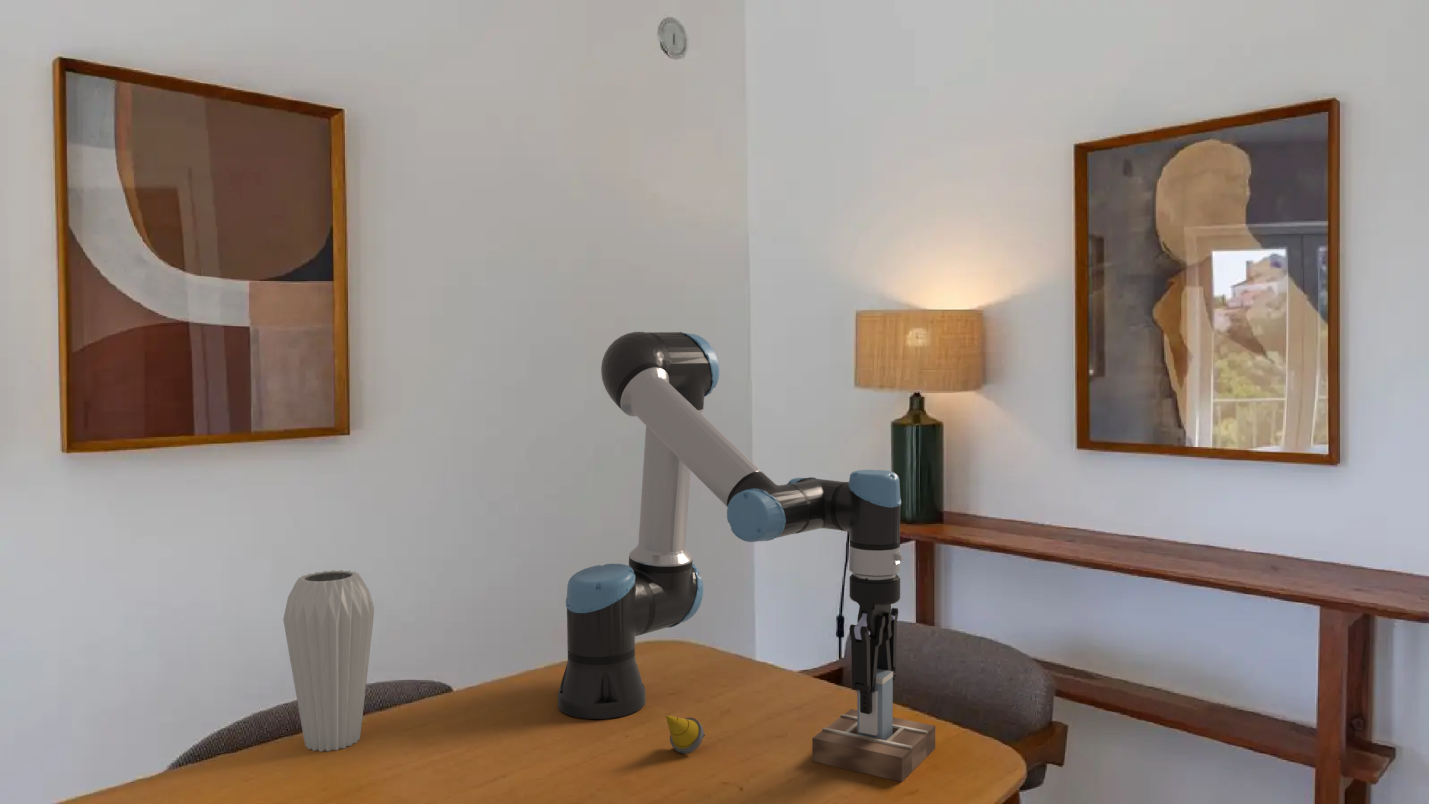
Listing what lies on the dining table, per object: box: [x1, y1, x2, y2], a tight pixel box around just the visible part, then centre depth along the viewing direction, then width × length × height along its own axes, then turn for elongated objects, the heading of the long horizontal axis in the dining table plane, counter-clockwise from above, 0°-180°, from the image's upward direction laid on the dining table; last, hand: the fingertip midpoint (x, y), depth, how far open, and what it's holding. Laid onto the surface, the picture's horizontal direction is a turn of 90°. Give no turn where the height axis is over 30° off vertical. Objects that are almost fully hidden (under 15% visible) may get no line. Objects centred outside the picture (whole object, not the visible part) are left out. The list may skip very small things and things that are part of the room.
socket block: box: [811, 708, 936, 783], centre depth 148 cm, size 14×14×4 cm
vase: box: [282, 569, 375, 752], centre depth 154 cm, size 13×13×26 cm
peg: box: [856, 669, 894, 740], centre depth 148 cm, size 4×4×10 cm
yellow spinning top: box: [665, 715, 706, 755], centre depth 149 cm, size 5×5×10 cm
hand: (874, 727), depth 148 cm, fingers closed on peg, 4 cm apart
